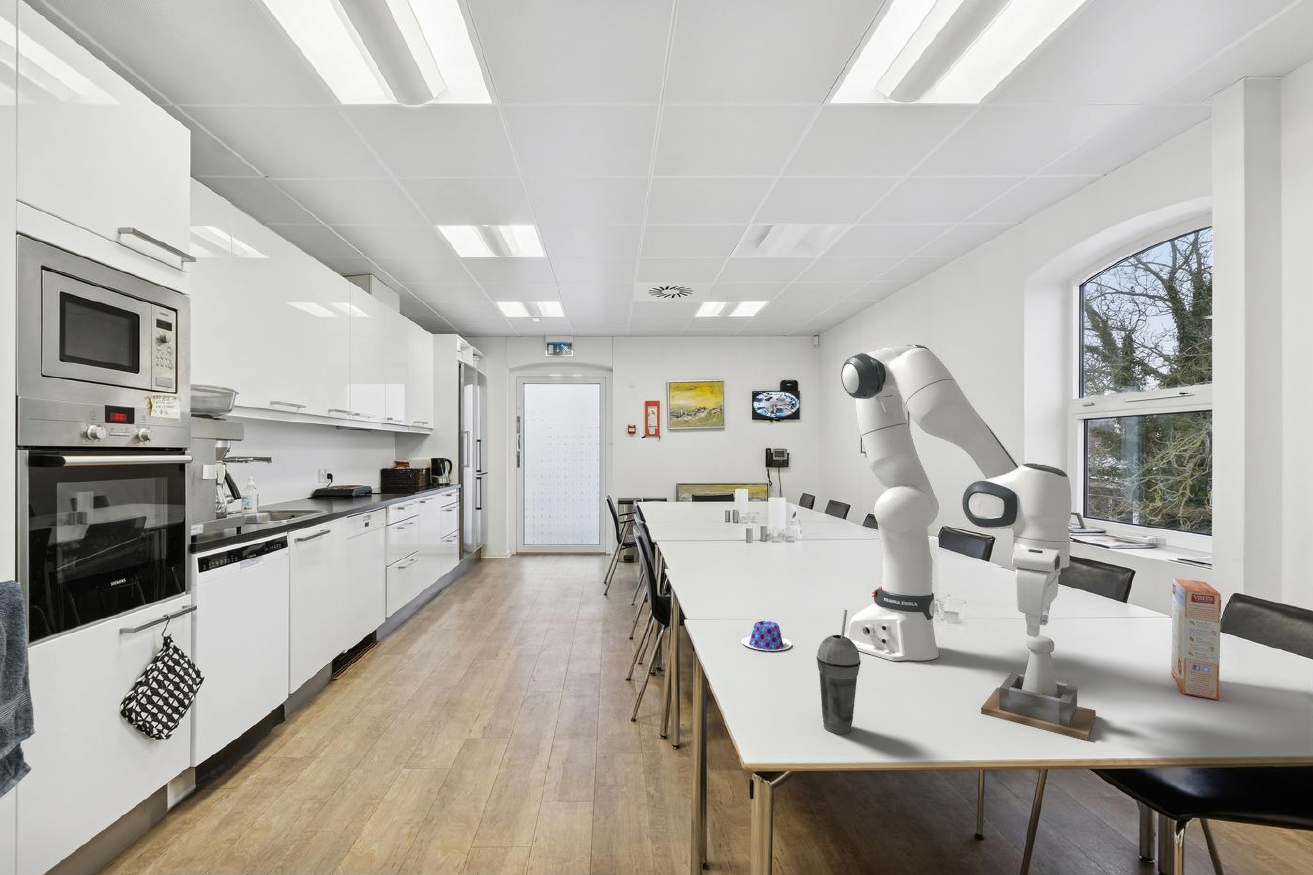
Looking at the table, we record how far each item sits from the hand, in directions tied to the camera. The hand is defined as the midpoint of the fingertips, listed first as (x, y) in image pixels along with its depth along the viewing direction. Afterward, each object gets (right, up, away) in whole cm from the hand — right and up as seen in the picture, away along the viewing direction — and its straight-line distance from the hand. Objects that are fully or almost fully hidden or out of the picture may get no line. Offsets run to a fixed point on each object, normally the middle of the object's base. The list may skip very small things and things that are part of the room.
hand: (1037, 629), depth 115 cm
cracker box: (+41, -16, +14) cm, 46 cm away
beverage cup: (-39, -15, -8) cm, 42 cm away
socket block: (0, -15, -1) cm, 15 cm away
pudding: (-43, -15, +37) cm, 59 cm away
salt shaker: (0, -14, -1) cm, 14 cm away
